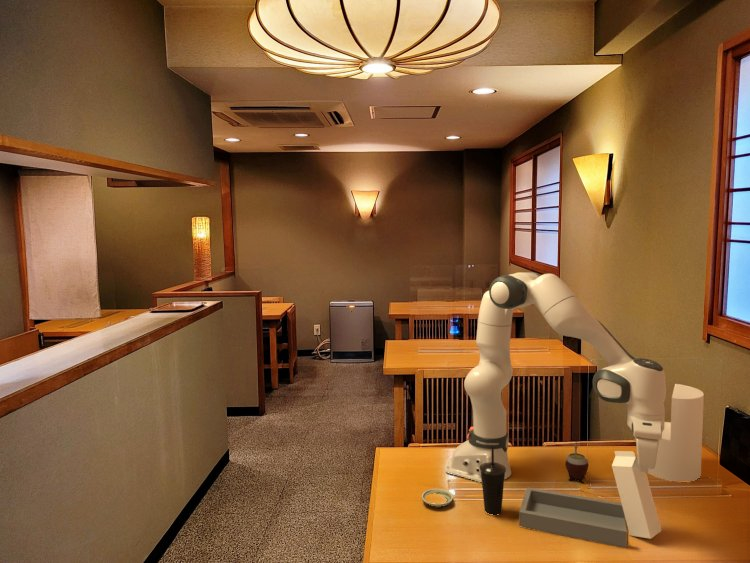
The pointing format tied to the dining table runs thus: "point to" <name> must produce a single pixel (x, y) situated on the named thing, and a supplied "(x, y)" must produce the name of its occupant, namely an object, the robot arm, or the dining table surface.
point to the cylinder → (681, 437)
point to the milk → (635, 496)
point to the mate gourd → (576, 466)
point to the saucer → (441, 492)
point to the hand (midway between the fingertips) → (643, 470)
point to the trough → (574, 516)
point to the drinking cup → (492, 485)
